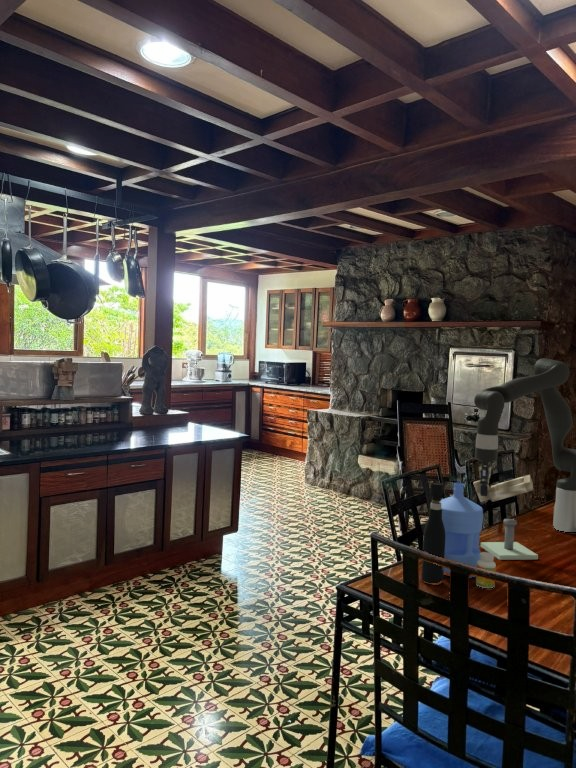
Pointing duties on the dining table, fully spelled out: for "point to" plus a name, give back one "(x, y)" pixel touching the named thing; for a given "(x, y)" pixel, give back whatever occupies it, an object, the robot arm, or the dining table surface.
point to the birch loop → (505, 488)
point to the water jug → (461, 528)
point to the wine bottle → (434, 536)
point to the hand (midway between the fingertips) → (484, 494)
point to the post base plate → (509, 546)
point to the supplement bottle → (487, 564)
